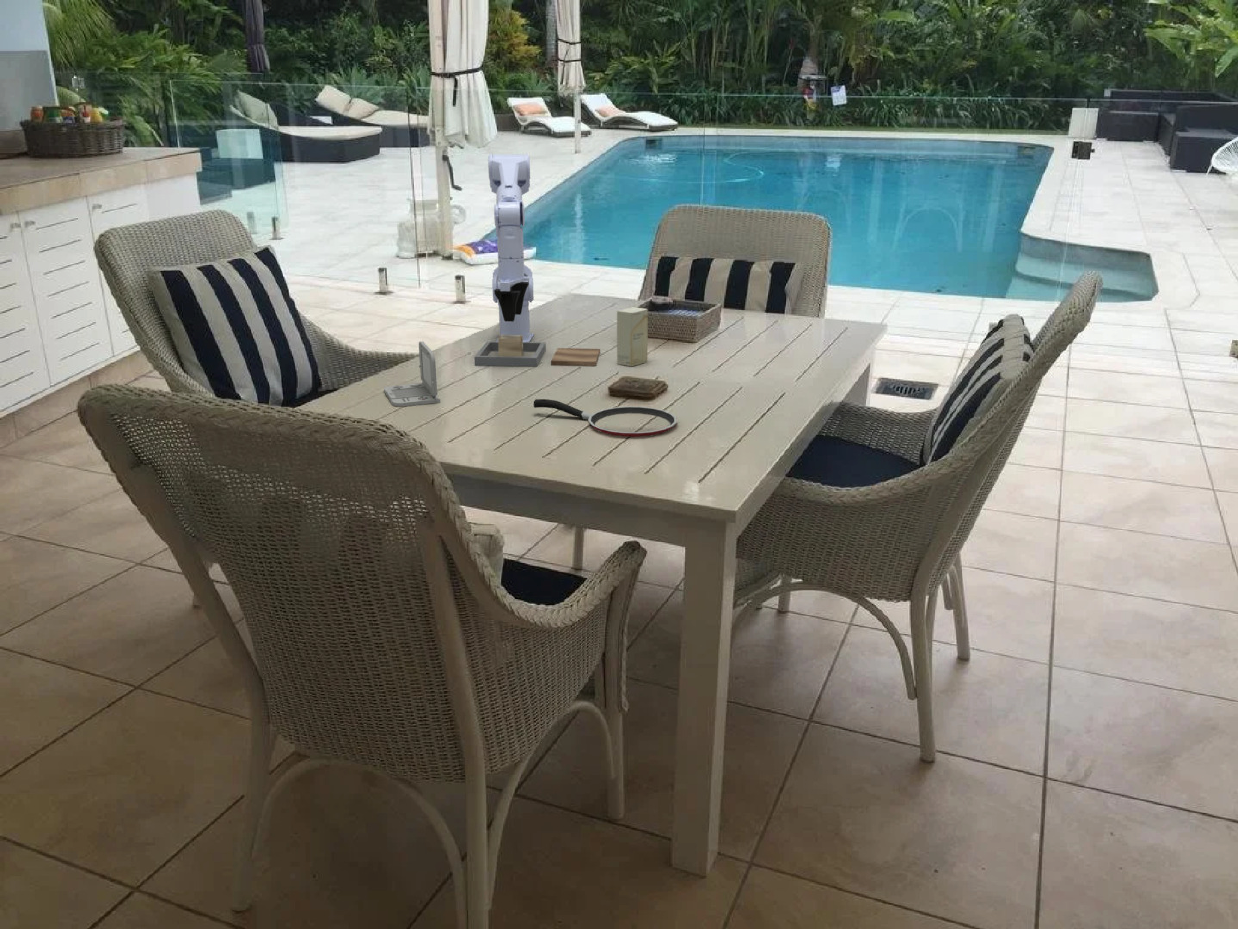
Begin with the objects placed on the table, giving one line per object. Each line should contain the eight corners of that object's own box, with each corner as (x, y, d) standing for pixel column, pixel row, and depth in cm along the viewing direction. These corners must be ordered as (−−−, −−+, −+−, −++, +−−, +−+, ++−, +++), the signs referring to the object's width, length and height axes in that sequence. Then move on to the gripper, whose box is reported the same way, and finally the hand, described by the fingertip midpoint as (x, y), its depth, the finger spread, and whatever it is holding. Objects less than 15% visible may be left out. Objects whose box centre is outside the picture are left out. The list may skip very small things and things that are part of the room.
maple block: (502, 355, 245) (501, 334, 243) (523, 356, 244) (522, 334, 243) (498, 360, 241) (498, 338, 239) (520, 360, 241) (519, 338, 239)
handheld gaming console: (383, 390, 217) (379, 343, 214) (427, 386, 220) (424, 339, 217) (394, 408, 206) (390, 358, 202) (440, 403, 209) (437, 354, 205)
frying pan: (516, 428, 194) (516, 411, 193) (550, 404, 209) (549, 387, 208) (662, 444, 186) (662, 426, 185) (686, 417, 201) (687, 400, 199)
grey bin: (487, 349, 250) (486, 341, 249) (545, 350, 249) (545, 342, 248) (474, 365, 236) (474, 356, 235) (536, 366, 235) (536, 357, 234)
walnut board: (557, 352, 248) (557, 348, 247) (600, 353, 247) (600, 348, 247) (551, 365, 236) (551, 360, 236) (595, 366, 236) (595, 361, 235)
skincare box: (631, 367, 235) (632, 313, 231) (615, 364, 237) (615, 310, 233) (648, 361, 240) (648, 308, 235) (632, 358, 242) (632, 306, 238)
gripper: (522, 262, 227) (523, 324, 231) (534, 252, 240) (536, 311, 245) (489, 261, 228) (492, 323, 232) (504, 252, 241) (506, 311, 246)
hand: (512, 317), depth 239 cm, fingers open, 7 cm apart
